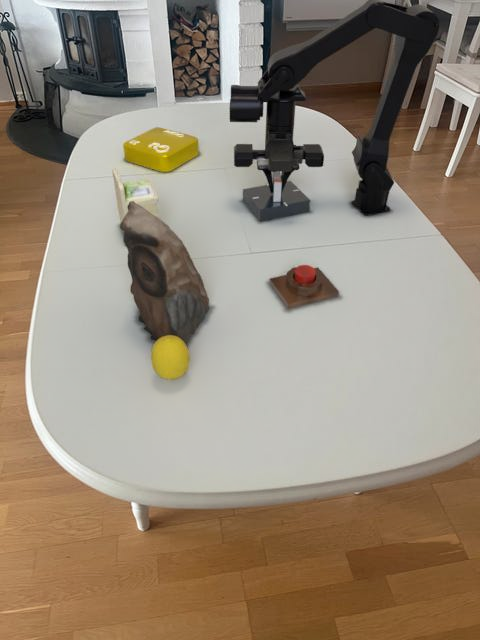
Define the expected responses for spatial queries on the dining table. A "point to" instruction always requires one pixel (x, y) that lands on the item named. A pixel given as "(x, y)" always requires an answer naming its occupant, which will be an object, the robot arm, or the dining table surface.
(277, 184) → the white card in stand
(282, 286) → the button block
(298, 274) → the button
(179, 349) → the lemon
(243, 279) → the dining table surface
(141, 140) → the element tile
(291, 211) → the plate
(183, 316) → the owl
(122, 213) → the toy sink
